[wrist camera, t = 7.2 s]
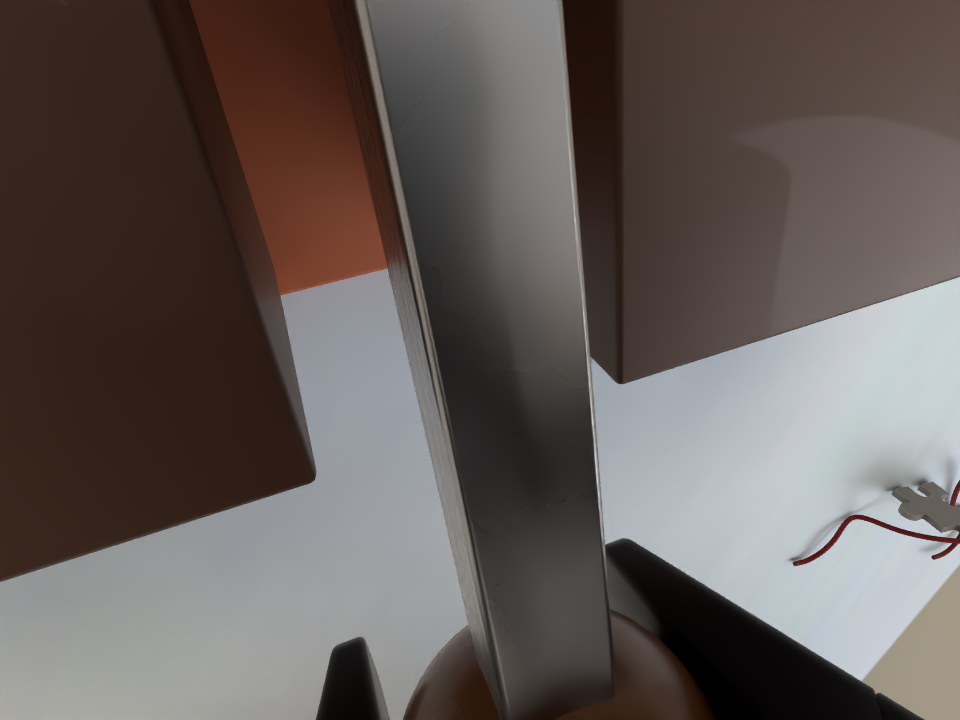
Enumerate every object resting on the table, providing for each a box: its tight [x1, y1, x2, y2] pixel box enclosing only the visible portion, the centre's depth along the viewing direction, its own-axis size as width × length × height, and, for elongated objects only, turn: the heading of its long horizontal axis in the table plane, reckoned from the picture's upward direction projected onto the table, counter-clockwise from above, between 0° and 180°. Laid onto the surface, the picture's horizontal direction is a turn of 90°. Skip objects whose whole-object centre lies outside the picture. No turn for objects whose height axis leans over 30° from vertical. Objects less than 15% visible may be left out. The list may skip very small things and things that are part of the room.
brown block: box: [0, 0, 960, 582], centre depth 7 cm, size 6×14×6 cm, turn 97°
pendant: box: [793, 480, 960, 566], centre depth 21 cm, size 8×4×3 cm, turn 83°
